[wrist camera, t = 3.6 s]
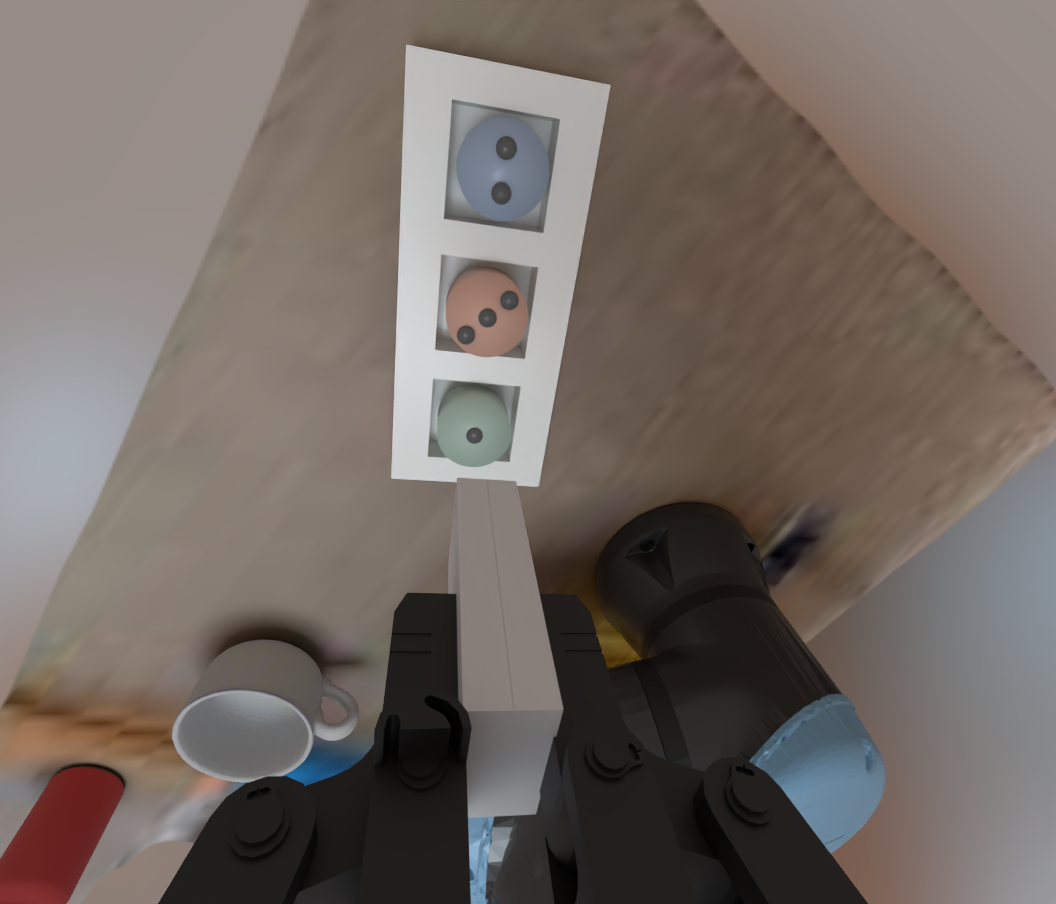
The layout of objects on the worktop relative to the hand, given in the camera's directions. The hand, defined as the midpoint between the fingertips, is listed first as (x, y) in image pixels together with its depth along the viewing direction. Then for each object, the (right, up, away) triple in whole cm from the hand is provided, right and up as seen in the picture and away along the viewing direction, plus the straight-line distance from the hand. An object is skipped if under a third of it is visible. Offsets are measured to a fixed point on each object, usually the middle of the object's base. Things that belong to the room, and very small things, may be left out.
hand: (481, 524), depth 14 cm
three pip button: (-2, +11, +22) cm, 24 cm away
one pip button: (-3, +4, +25) cm, 26 cm away
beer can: (-43, -32, +41) cm, 68 cm away
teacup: (-21, -18, +37) cm, 47 cm away
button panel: (-2, +12, +23) cm, 26 cm away
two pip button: (0, +19, +18) cm, 26 cm away
